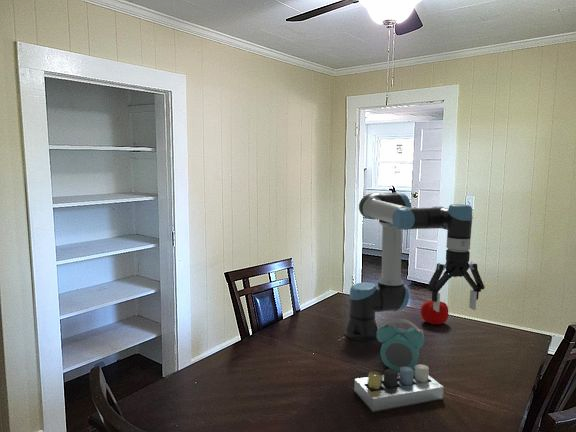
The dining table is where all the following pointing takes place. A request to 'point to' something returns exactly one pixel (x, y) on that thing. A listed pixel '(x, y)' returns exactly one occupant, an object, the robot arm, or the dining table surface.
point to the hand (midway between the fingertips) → (454, 309)
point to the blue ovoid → (406, 376)
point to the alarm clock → (399, 344)
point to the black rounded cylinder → (390, 378)
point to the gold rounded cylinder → (374, 381)
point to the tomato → (434, 313)
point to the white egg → (421, 373)
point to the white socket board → (398, 394)
